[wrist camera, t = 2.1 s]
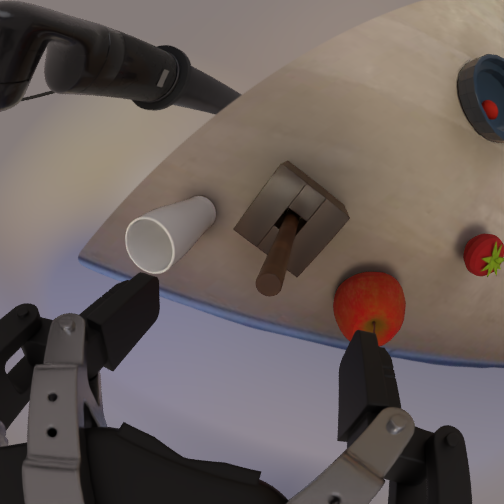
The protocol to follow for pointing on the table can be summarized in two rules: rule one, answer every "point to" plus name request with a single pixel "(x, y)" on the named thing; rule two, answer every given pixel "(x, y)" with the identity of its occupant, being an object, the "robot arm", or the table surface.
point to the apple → (370, 305)
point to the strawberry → (484, 254)
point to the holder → (302, 203)
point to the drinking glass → (168, 233)
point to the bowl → (483, 94)
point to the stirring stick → (278, 257)
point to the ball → (490, 109)
